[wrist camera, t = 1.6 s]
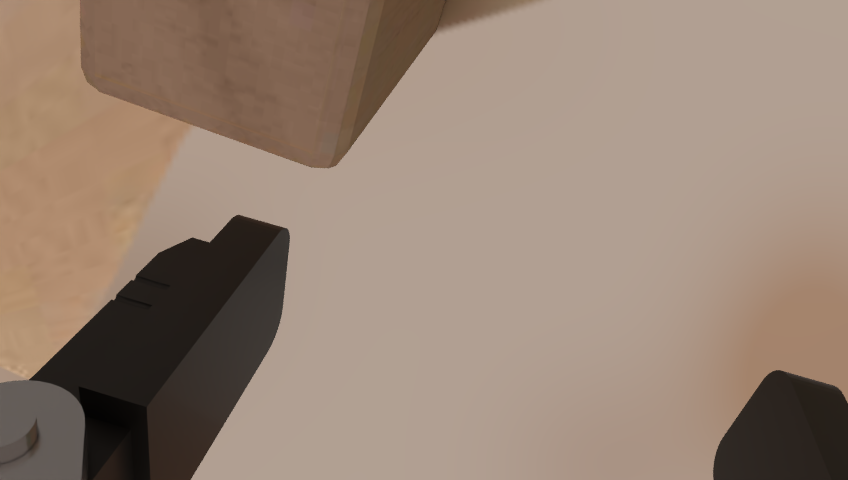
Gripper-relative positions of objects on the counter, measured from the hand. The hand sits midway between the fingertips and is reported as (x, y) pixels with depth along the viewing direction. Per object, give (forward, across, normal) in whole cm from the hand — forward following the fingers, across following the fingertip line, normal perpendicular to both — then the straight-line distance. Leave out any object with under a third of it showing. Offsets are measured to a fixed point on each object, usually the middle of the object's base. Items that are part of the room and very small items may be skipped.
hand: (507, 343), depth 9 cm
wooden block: (+32, +10, 0) cm, 34 cm away
